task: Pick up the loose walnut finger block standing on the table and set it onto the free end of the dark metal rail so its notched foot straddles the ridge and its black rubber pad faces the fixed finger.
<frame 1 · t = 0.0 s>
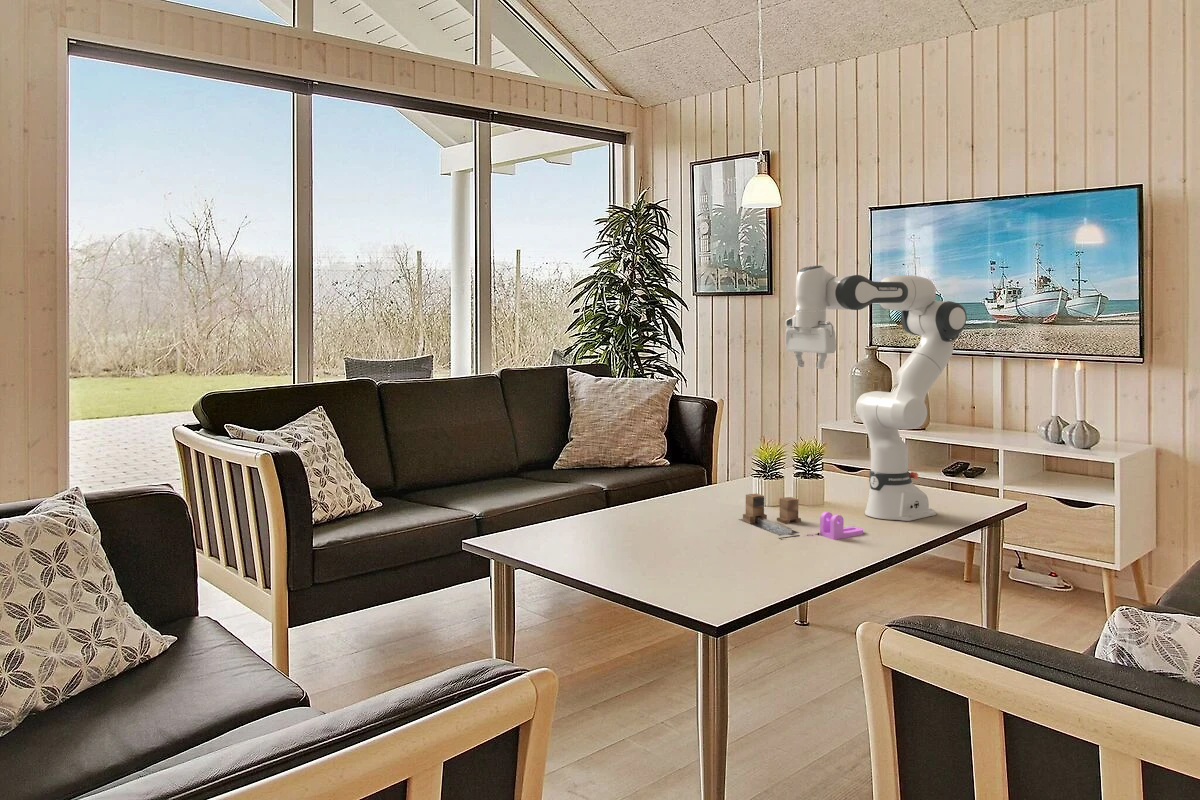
hand: (810, 367, 265), 48 cm above the table, fingers open, 8 cm apart
bracket: (843, 535, 259), on the table
fixed finger: (754, 520, 272), resting on rail
loose finger: (788, 524, 271), on the table
rail: (767, 529, 266), on the table
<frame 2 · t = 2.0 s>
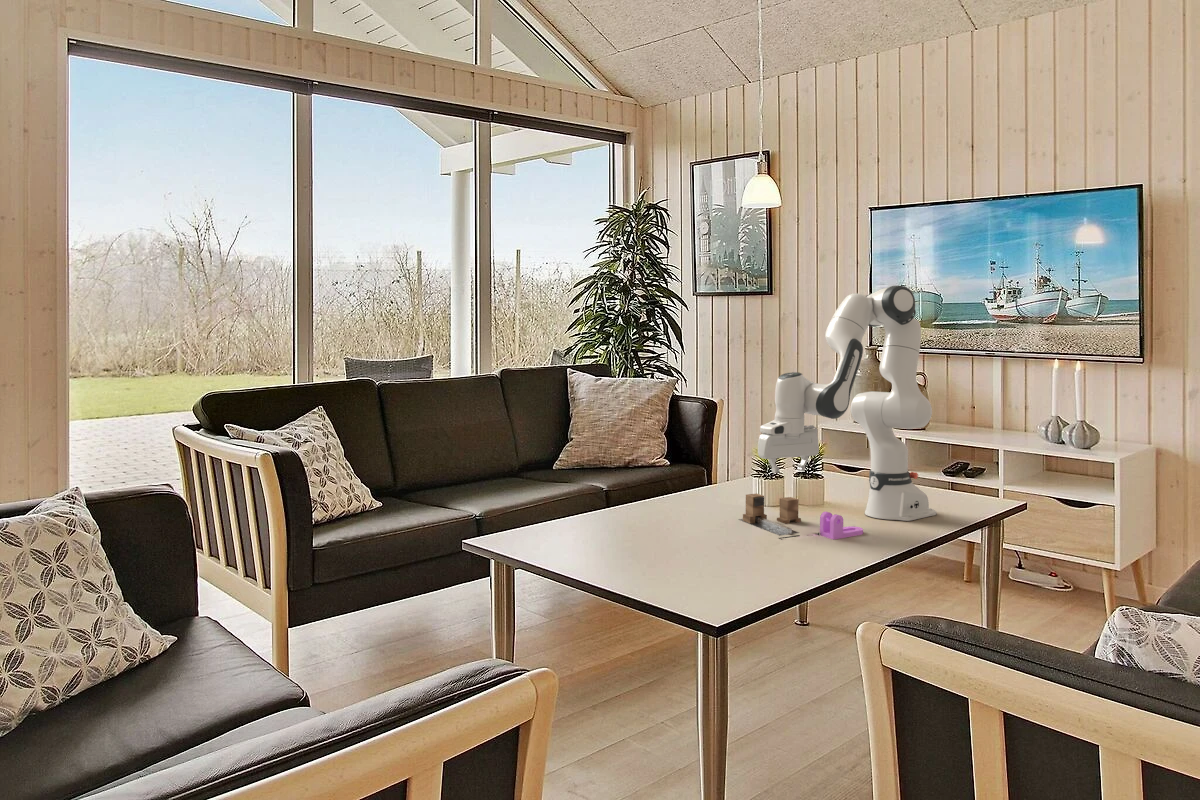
hand: (788, 471, 270), 16 cm above the table, fingers open, 8 cm apart
nothing on the table moved.
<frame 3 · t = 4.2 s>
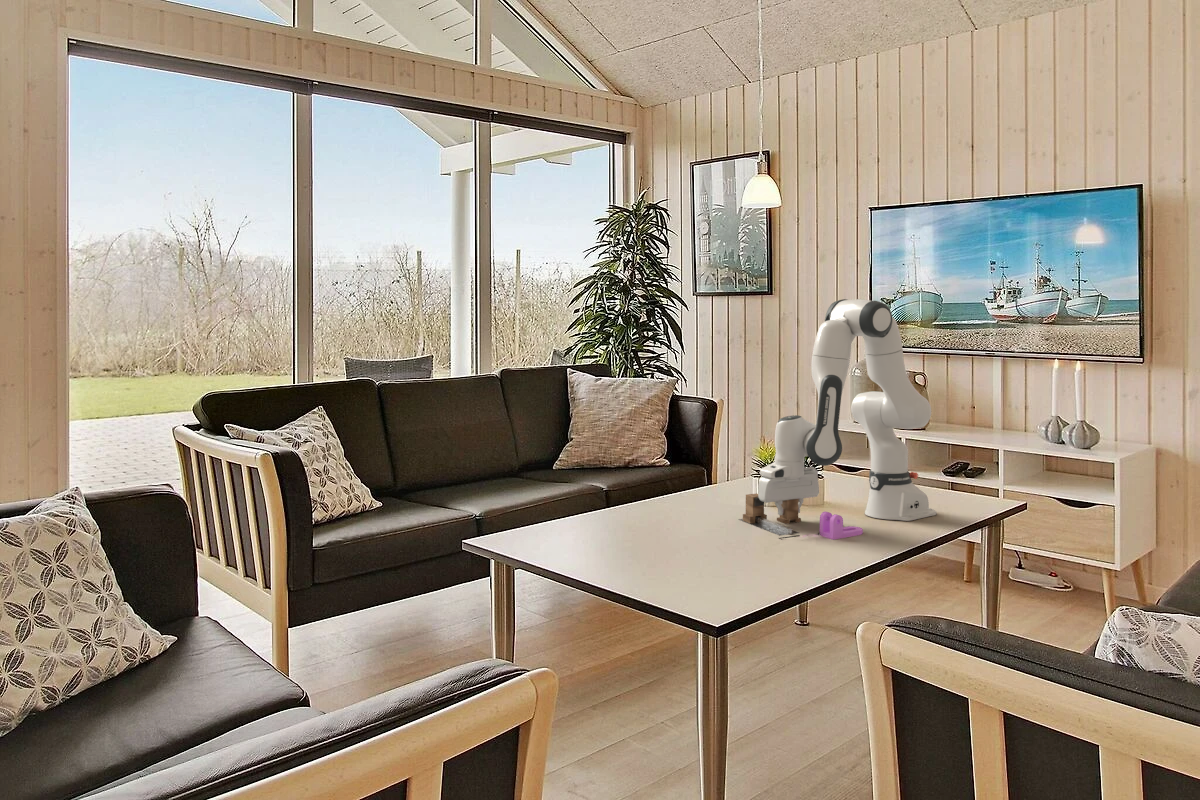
hand: (788, 513, 271), 3 cm above the table, fingers closed on loose finger, 4 cm apart
loose finger: (788, 524, 271), on the table, touching gripper
everything else where it was.
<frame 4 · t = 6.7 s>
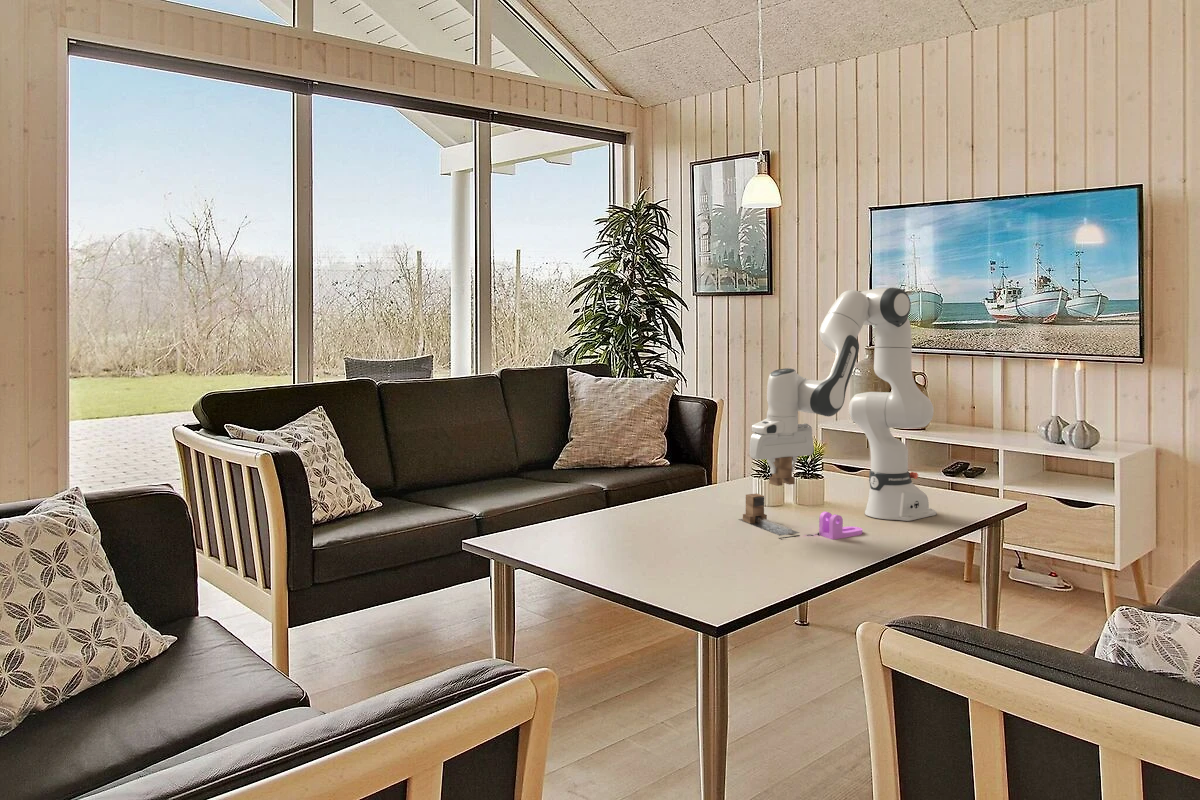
hand: (781, 472, 258), 18 cm above the table, fingers closed on loose finger, 4 cm apart
loose finger: (781, 483, 258), point 15 cm above the table, touching gripper
everything else where it was.
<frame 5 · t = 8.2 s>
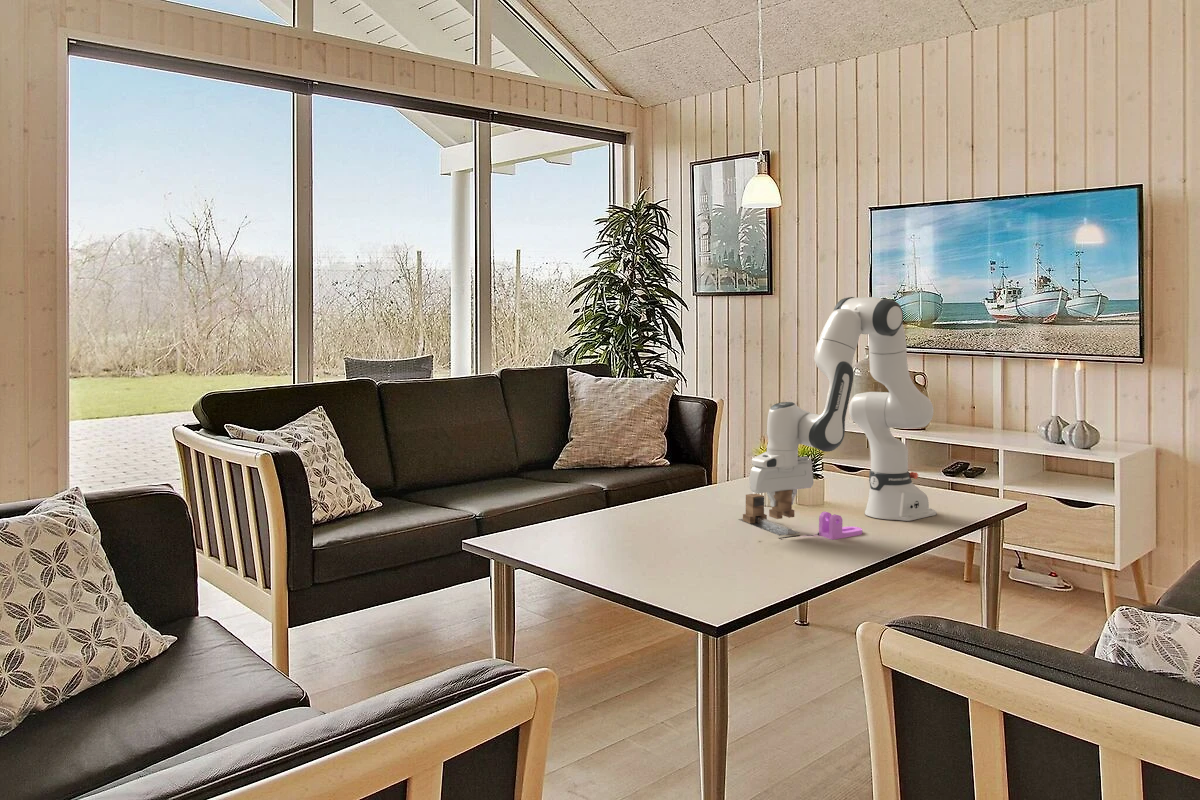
hand: (781, 505, 259), 9 cm above the table, fingers closed on loose finger, 4 cm apart
loose finger: (781, 516, 259), point 5 cm above the table, touching gripper
everything else where it was.
when the fingers open (6 cm above the table, at t = 9.5 s): loose finger drops 2 cm, resting on rail.
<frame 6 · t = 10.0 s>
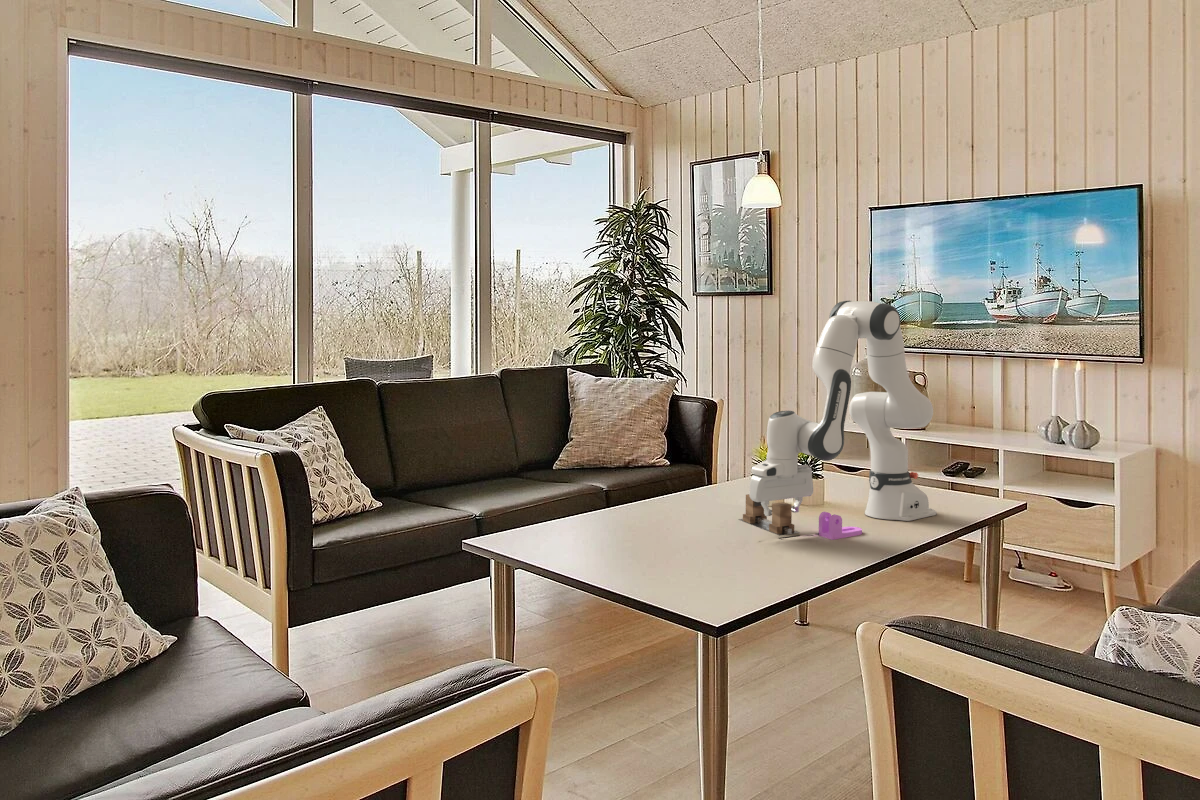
hand: (781, 513, 259), 6 cm above the table, fingers open, 8 cm apart
loose finger: (781, 531, 260), point 1 cm above the table, touching rail
everything else where it was.
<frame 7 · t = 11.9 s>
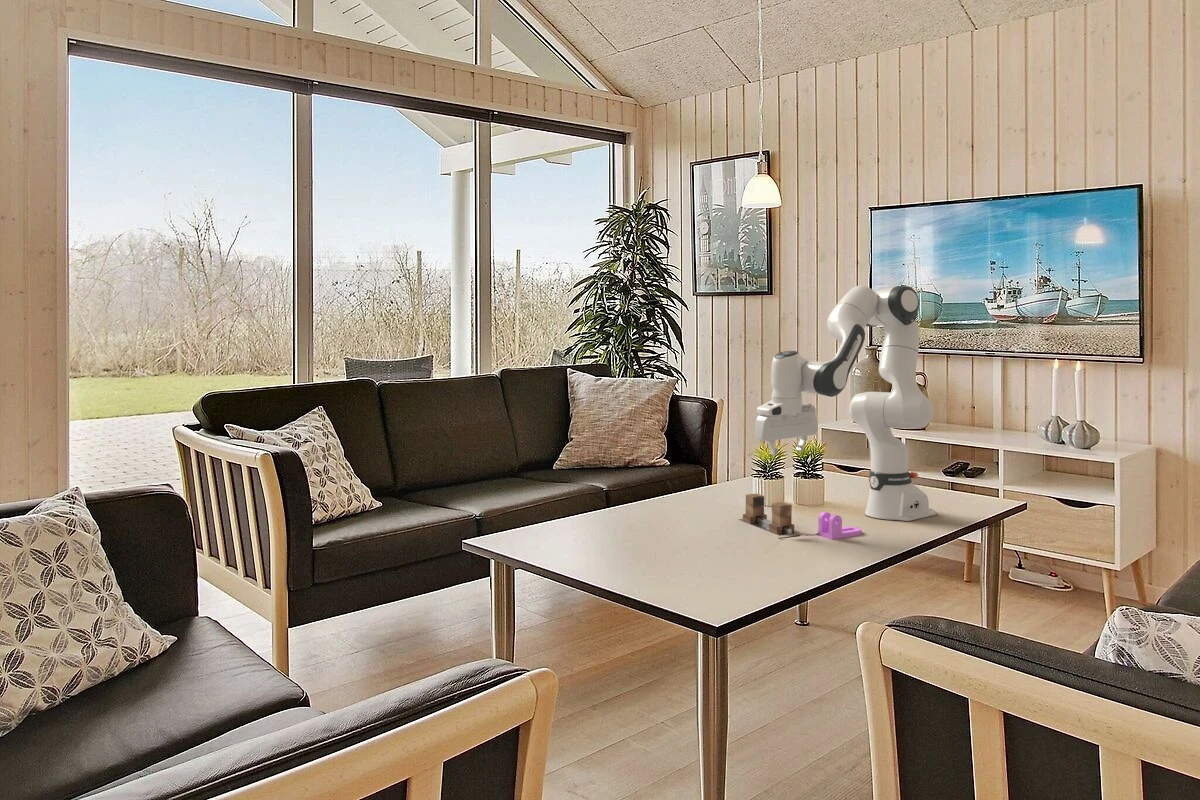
hand: (787, 452, 264), 23 cm above the table, fingers open, 8 cm apart
nothing on the table moved.
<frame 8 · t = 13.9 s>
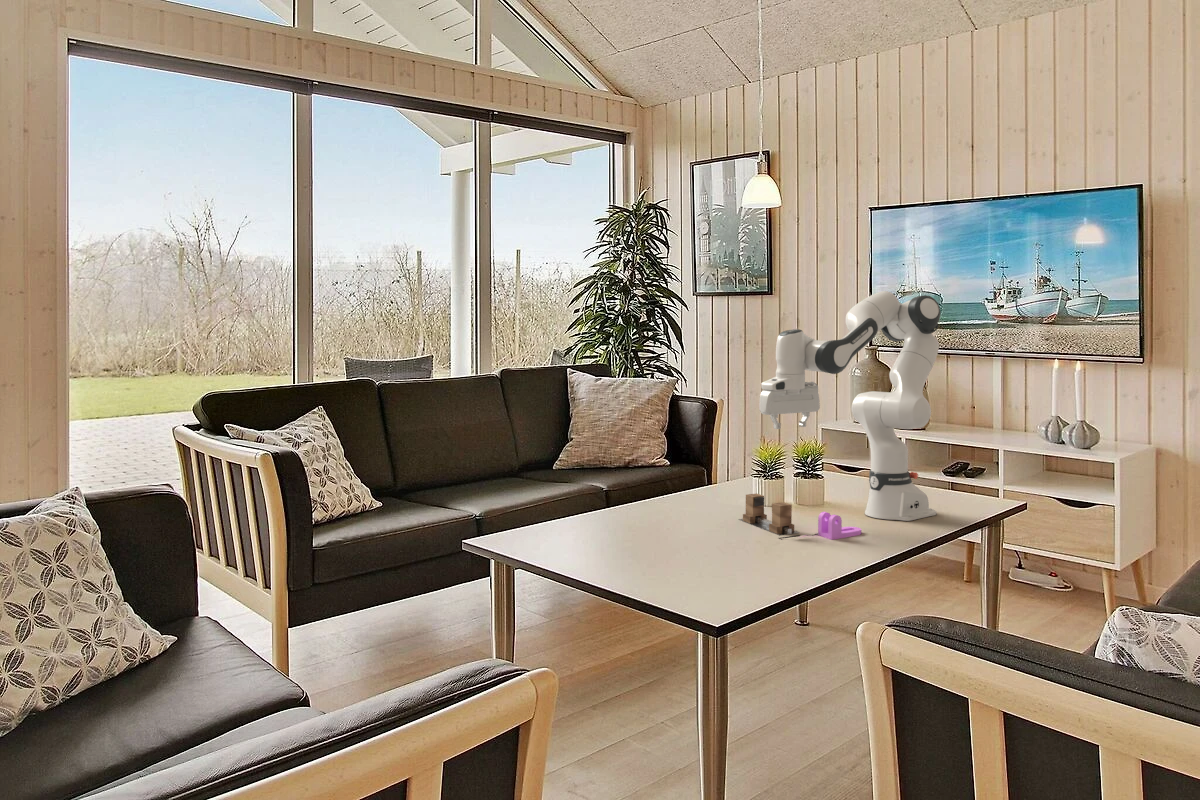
hand: (789, 427, 273), 29 cm above the table, fingers open, 8 cm apart
nothing on the table moved.
at the end: loose finger 0.2 cm from the target spot on the rail, point 1.0 cm above the rail's base; loose finger tilted 0°; the gripper is holding nothing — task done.
